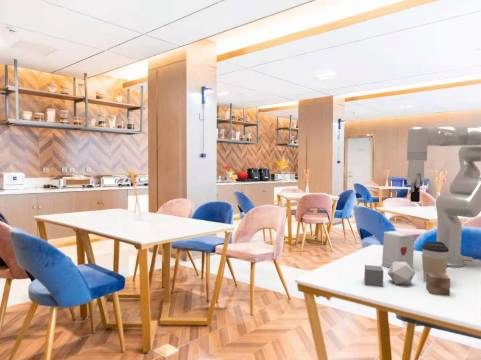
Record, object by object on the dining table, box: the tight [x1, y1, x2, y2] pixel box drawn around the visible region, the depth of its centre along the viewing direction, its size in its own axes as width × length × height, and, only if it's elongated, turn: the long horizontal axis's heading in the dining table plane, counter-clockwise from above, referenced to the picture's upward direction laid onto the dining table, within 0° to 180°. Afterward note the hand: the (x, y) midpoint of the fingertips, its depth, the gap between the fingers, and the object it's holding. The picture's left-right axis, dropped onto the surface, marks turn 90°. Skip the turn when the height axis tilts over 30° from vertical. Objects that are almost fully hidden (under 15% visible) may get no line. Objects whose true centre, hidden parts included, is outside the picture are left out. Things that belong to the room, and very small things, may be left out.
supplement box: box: [381, 230, 415, 269], centre depth 155 cm, size 9×9×15 cm
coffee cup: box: [421, 241, 449, 283], centre depth 136 cm, size 9×9×15 cm
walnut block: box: [425, 272, 451, 297], centre depth 126 cm, size 6×6×6 cm
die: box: [387, 262, 416, 285], centre depth 134 cm, size 8×9×10 cm
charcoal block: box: [363, 264, 384, 288], centre depth 133 cm, size 6×6×6 cm
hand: (414, 201), depth 148 cm, fingers closed
